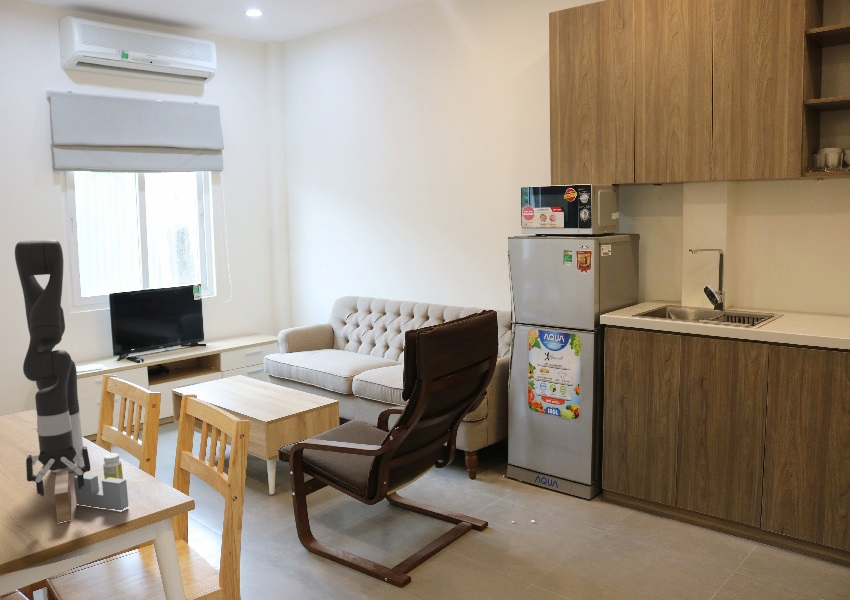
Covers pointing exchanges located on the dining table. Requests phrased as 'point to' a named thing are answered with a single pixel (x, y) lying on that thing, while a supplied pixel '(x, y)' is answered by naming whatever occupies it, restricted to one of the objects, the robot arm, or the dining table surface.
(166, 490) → the dining table surface
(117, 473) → the supplement bottle
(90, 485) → the grey notched block
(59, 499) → the walnut plate
